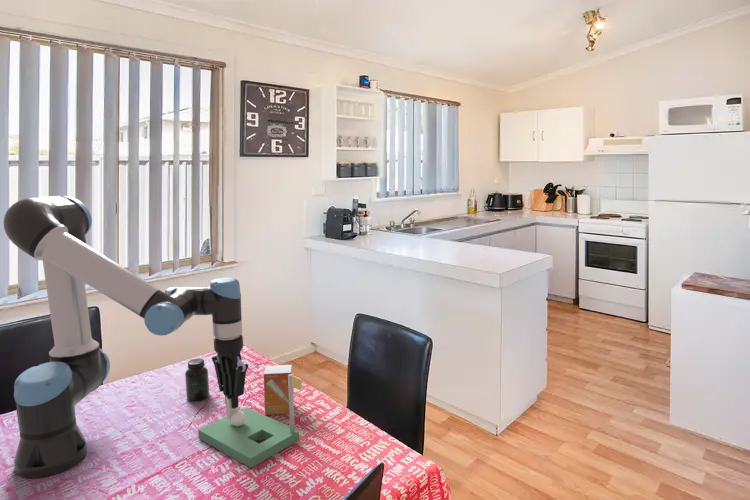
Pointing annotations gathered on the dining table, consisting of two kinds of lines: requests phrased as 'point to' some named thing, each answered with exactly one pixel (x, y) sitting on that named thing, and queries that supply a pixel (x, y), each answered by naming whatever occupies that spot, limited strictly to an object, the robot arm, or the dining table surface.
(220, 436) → the putting green
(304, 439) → the dining table surface
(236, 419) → the ball
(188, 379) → the supplement bottle
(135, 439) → the dining table surface
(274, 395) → the small box
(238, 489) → the dining table surface
